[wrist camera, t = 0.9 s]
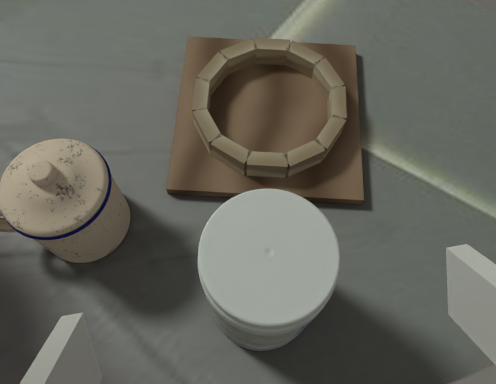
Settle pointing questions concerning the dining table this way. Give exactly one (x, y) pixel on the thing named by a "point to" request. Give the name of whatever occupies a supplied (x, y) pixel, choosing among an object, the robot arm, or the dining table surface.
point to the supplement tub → (267, 266)
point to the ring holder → (268, 120)
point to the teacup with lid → (64, 200)
